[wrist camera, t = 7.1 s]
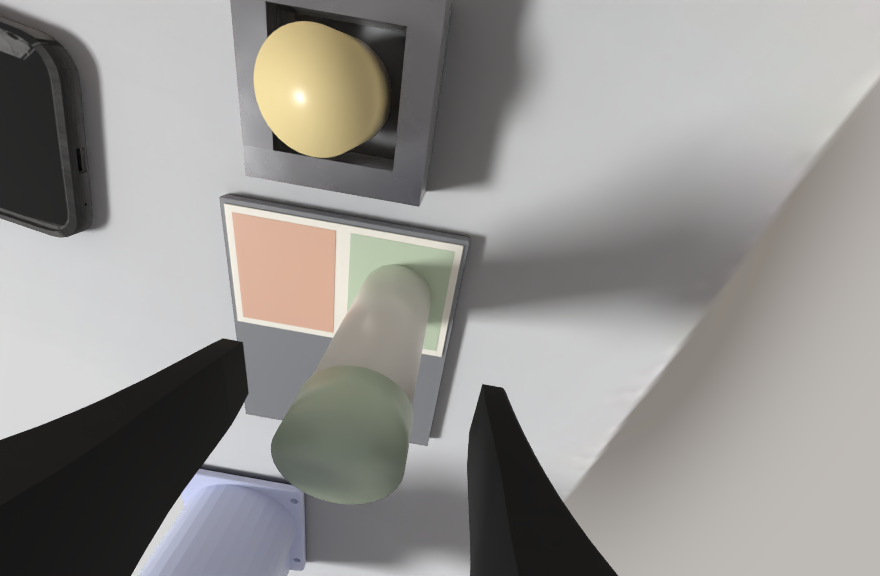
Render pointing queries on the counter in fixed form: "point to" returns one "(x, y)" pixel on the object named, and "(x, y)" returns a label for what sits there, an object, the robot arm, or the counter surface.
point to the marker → (360, 396)
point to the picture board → (326, 293)
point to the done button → (321, 89)
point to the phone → (41, 134)
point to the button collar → (405, 177)
